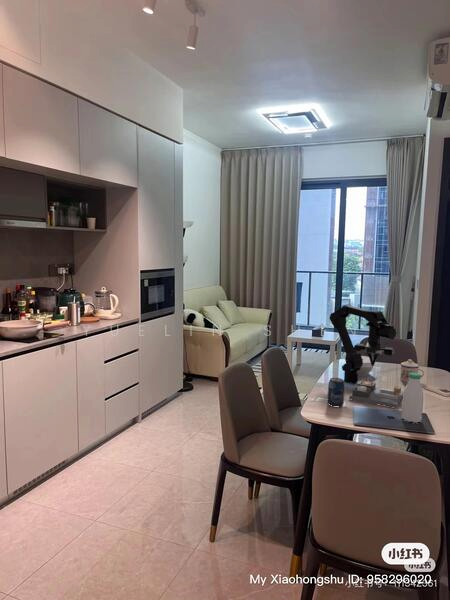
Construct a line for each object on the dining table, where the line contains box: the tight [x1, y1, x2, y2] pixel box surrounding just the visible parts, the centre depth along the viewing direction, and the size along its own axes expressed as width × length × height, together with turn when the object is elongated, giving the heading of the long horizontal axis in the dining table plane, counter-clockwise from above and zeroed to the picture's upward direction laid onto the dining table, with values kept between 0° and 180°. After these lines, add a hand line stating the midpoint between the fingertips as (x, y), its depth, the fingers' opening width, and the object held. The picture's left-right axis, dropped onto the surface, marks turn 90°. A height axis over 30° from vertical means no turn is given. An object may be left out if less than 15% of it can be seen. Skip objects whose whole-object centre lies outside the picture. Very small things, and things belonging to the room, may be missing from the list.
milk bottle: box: [401, 372, 424, 423], centre depth 178 cm, size 8×8×20 cm
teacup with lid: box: [399, 359, 425, 383], centre depth 234 cm, size 12×9×12 cm
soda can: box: [327, 377, 345, 407], centre depth 195 cm, size 7×7×12 cm
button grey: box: [356, 385, 367, 392], centre depth 205 cm, size 4×4×2 cm
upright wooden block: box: [393, 385, 402, 398], centre depth 202 cm, size 2×5×4 cm, turn 150°
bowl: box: [358, 355, 374, 377], centre depth 247 cm, size 16×16×8 cm
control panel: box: [348, 379, 404, 409], centre depth 206 cm, size 21×20×4 cm
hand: (372, 365), depth 219 cm, fingers closed
